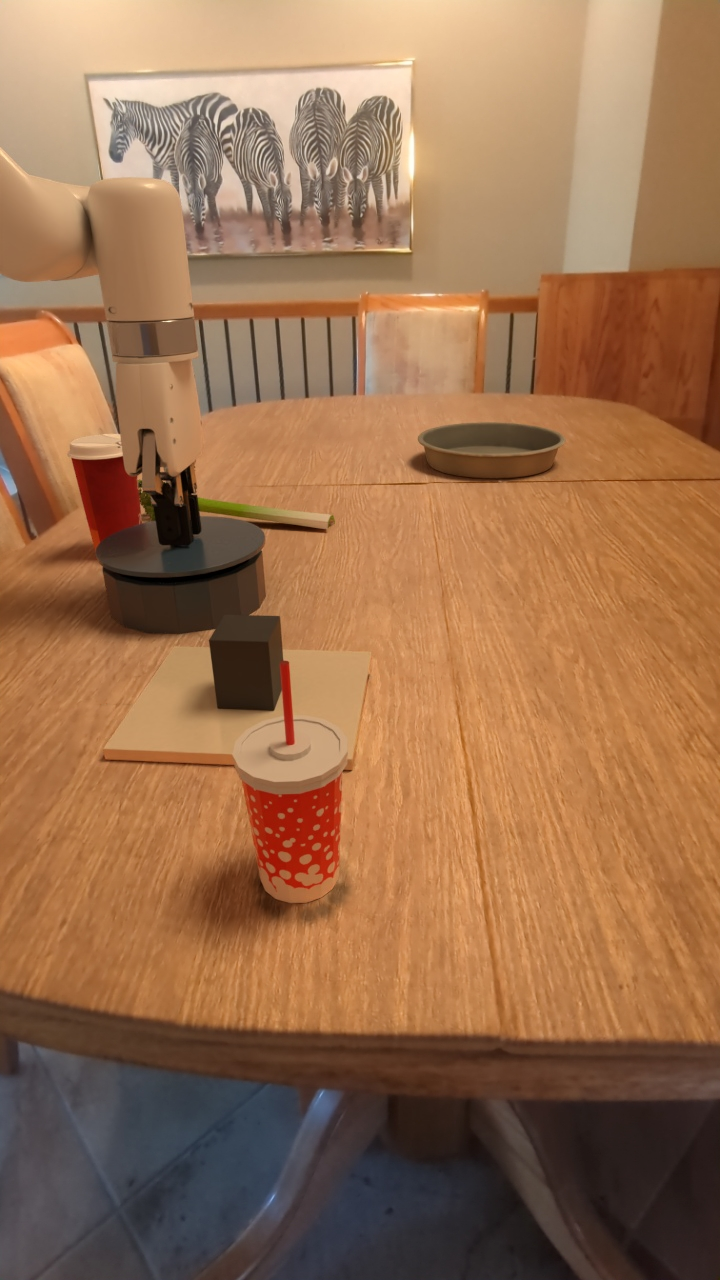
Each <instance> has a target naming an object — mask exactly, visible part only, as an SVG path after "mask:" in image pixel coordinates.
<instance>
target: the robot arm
mask: <svg viewBox="0 0 720 1280" xmlns="http://www.w3.org/2000/svg"><path fill="white" fill-rule="evenodd" d="M186 240H187V239H186V231H185V222H184V213H183V206H182V199H181V197H180V194H179V192H178V189H177V188H176V187H175V185H173V184H172V183H171V182H169V181H166V180H164V179H161V178H160V179H159V178H153V177H139V176H138V177H137V176H136V177H134V176H133V177H132V176H131V177H124V176H123V177H111V178H105V179H100V180H97V181H95V182H93V184H92V185H90V186H89V185H88V186H87V185H79V184H72V183H66V182H61V181H57V180H53V179H50V178H45V177H41V176H37V175H33V174H28V173H27V172H26V171H25V170H24V169H23V168H22V167H21V166H20V165H19V164H17V162H16V161H15V160H14V159H13V158H12V157H11V156H10V155H9V154H8V153H7V151H5V150H4V149H3V148H2V146H0V276H3V277H5V278H8V279H10V280H14V281H17V282H23V283H25V282H26V283H35V282H36V283H37V282H38V283H39V282H46V281H47V282H49V281H50V282H60V281H71V280H76V279H77V280H78V279H84V278H87V277H93V276H98V278H99V284H100V290H101V296H102V302H103V310H104V315H105V320H106V326H107V333H108V339H109V346H110V351H111V356H112V357H111V359H112V362H113V363H115V391H116V392H115V393H116V396H115V397H116V408H117V419H118V426H119V428H118V429H119V434H120V437H121V445H122V453H123V461H124V467H125V471H126V473H127V474H128V475H130V476H132V477H135V476H137V477H138V476H139V475H140V474H141V480H142V485H141V486H142V488H141V490H142V491H144V492H145V493H148V494H150V497H151V503H152V506H153V507H154V514H155V520H156V527H157V533H158V540H159V543H160V544H161V545H182V546H188V545H190V544H191V542H192V535H191V527H190V520H189V512H188V504H183V493H182V488H186V489H187V490H188V498H189V505H190V513H191V521H192V529H193V535H198V534H199V533H200V532H201V531H202V529H201V521H200V516H201V515H200V511H199V504H198V497H199V496H198V494H197V492H198V483H197V475H196V466H195V465H196V462H197V460H198V459H199V458H200V457H201V456H202V454H203V451H204V431H203V430H204V429H203V420H202V414H201V405H200V400H199V393H198V388H197V387H198V386H197V382H196V376H195V371H194V366H193V360H195V359H197V358H199V357H200V355H199V347H198V338H197V329H196V320H195V311H194V302H193V301H194V300H193V293H192V284H191V277H190V267H189V257H188V249H187V241H186ZM161 468H163V471H161ZM164 482H165V483H164Z"/></svg>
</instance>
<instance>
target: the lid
mask: <svg viewBox="0 0 720 1280" xmlns="http://www.w3.org/2000/svg"><path fill="white" fill-rule="evenodd" d="M182 493H183V504H188V512H189V520H190V527H191V535H192V542H191V544H190V545H188V546H182V545H161V544H160V543H159V540H158V533H157V527H156V521H147V522H142V524H139V525H135V526H132V527H129V528H126V529H123V530H121V531H118V532H116V533H114V534H112V535H110V536H109V537H107V538H105V539H104V540H103V541H102V542H101V543H100V544H99V545H98V546H97V548H96V551H95V550H94V552H95V558H96V561H97V562H98V564H99V565H100V566H101V567H102V568H103V567H104V568H106V569H108V570H111V571H113V572H116V573H120V574H124V575H130V576H138V577H173V578H180V576H181V577H188V576H196V575H197V574H203V573H208V572H213V571H217V570H221V569H225V568H228V567H231V566H234V565H237V564H239V563H242V562H244V561H246V560H248V559H250V558H252V557H253V556H255V555H256V554H258V553H259V552H260V551H261V550H262V551H263V549H264V548H265V545H266V534H265V532H264V531H263V529H262V528H260V527H259V526H258V525H256V524H254V523H251V522H249V521H246V520H242V519H238V518H232V517H225V516H210V515H209V516H207V515H206V516H205V515H200V521H201V529H202V531H201V532H200V533H199V534H198V535H193V529H192V521H191V513H190V505H189V498H188V490H187V489H186V488H182ZM197 576H198V575H197Z"/></svg>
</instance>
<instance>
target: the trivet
mask: <svg viewBox="0 0 720 1280" xmlns="http://www.w3.org/2000/svg"><path fill="white" fill-rule="evenodd" d="M372 658H373V652H372V651H363V650H362V651H361V650H360V651H359V650H358V651H357V650H328V649H327V650H326V649H325V650H324V649H323V650H322V649H321V650H320V649H293V648H292V649H290V648H289V649H286V648H283V661H288V662H289V666H290V681H291V695H292V709H293V716H294V715H306V716H311V717H316V718H321V719H325V720H327V721H328V722H330V723H332V724H334V725H336V726H338V727H339V728H340V729H341V731H342V732H343V733H344V734H345V736H346V737H347V743H348V756H347V765H346V766H345V768H344V769H343V771H353V769H354V765H355V759H356V753H357V748H358V742H359V736H360V731H361V725H362V720H363V713H364V710H365V709H364V708H365V704H366V699H367V691H368V686H369V680H370V675H371V674H370V670H371V664H372ZM281 716H284V711H283V698H282V691H281V694H280V696H279V699H278V702H277V704H276V707H275V710H274V711H267V710H240V709H218V708H217V701H216V693H215V685H214V677H213V669H212V661H211V653H210V646H187V645H184V646H183V645H174V646H172V648H171V649H170V650H169V652H168V654H167V655H166V656H165V658H164V660H163V661H162V662H161V664H160V665H159V667H158V668H157V670H156V671H155V673H154V674H153V675H152V677H151V678H150V680H148V682H147V684H146V686H145V687H143V689H142V691H141V692H140V694H139V695H138V697H137V698H136V700H135V702H134V703H133V704H132V706H131V707H130V709H129V710H128V712H127V713H126V714H125V716H124V717H123V719H122V720H121V722H119V724H118V726H117V727H116V729H115V731H114V732H113V733H112V735H111V736H110V738H109V739H108V740H107V742H106V743H105V744H104V746H103V748H102V751H103V755H104V759H105V760H110V761H131V762H153V763H154V762H155V763H156V762H157V763H158V762H159V763H176V764H202V765H223V766H235V762H234V760H233V755H232V754H233V750H234V745H235V741H236V740H237V739H238V738H239V737H240V736H241V735H242V734H243V733H244V731H245V730H247V729H248V728H250V727H252V726H254V725H256V724H258V723H260V722H262V721H264V720H268V719H272V718H276V717H281Z"/></svg>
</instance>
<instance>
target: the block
mask: <svg viewBox="0 0 720 1280" xmlns="http://www.w3.org/2000/svg"><path fill="white" fill-rule="evenodd" d="M281 623H282V622H281V616H280V615H256V614H255V615H254V614H250V615H224V616H223V618H222V620H221V621H220V623H219V624H218V626H217V628H216V629H214V630H213V632H212V634H211V636H210V638H209V639H208V644H209V647H210V653H211V661H212V669H213V677H214V685H215V693H216V701H217V708H218V709H240V710H267V711H274V710H275V707H276V704H277V702H278V699H279V696H280V694H281V691H282V686H281V673H280V662H281V661H283V649H284V648H283V636H282V624H281Z"/></svg>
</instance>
